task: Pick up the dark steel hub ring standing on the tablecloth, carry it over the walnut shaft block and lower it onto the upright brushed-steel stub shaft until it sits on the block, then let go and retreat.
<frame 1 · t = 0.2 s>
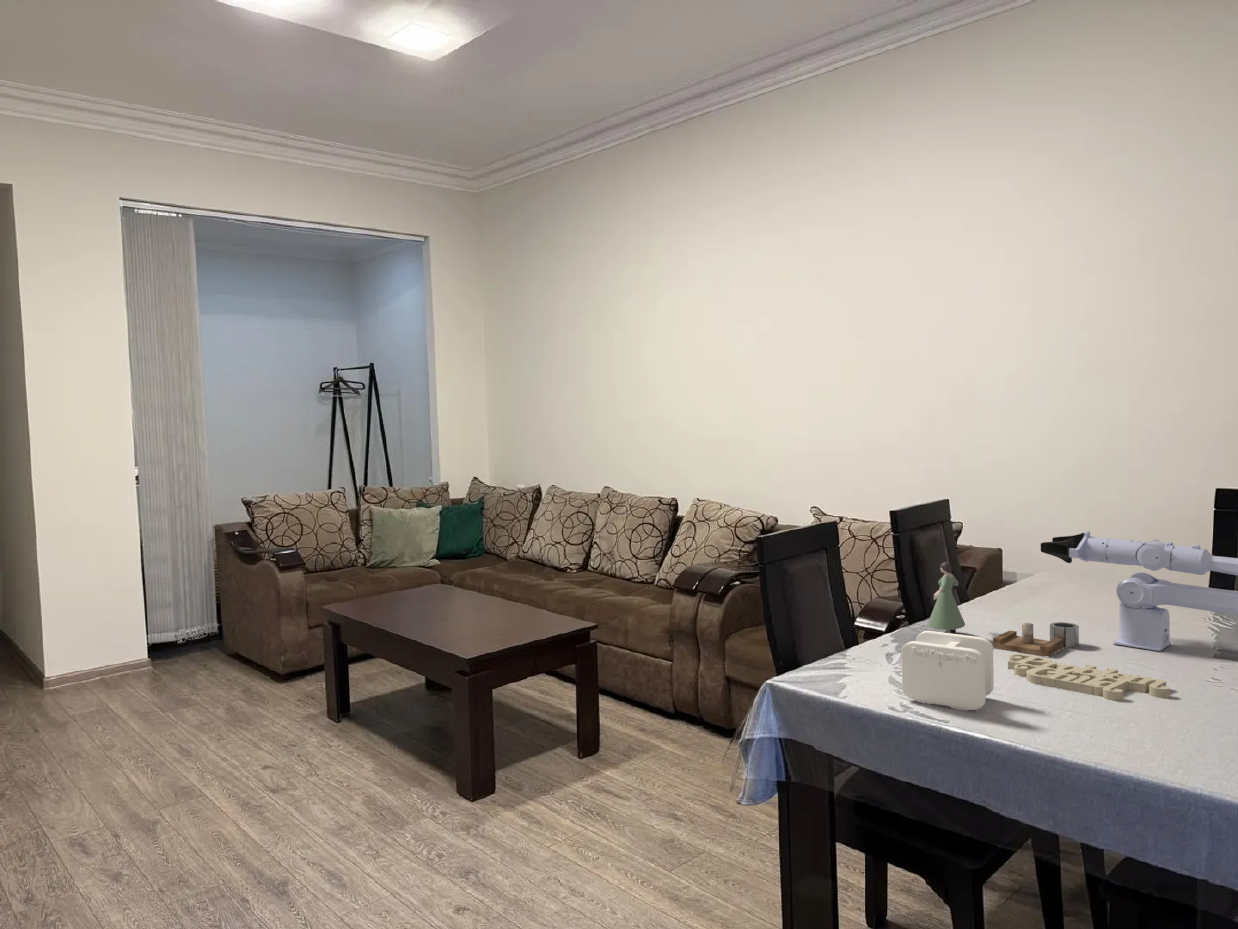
hand: (1047, 544, 209), 21 cm above the table, tool horizontal, fingers open, 7 cm apart
cable organizer: (949, 701, 165), on the table
decorative sign: (1079, 685, 172), on the table
shaft block: (1028, 648, 197), on the table
hub: (1064, 644, 198), on the table
character figurine: (948, 635, 210), on the table
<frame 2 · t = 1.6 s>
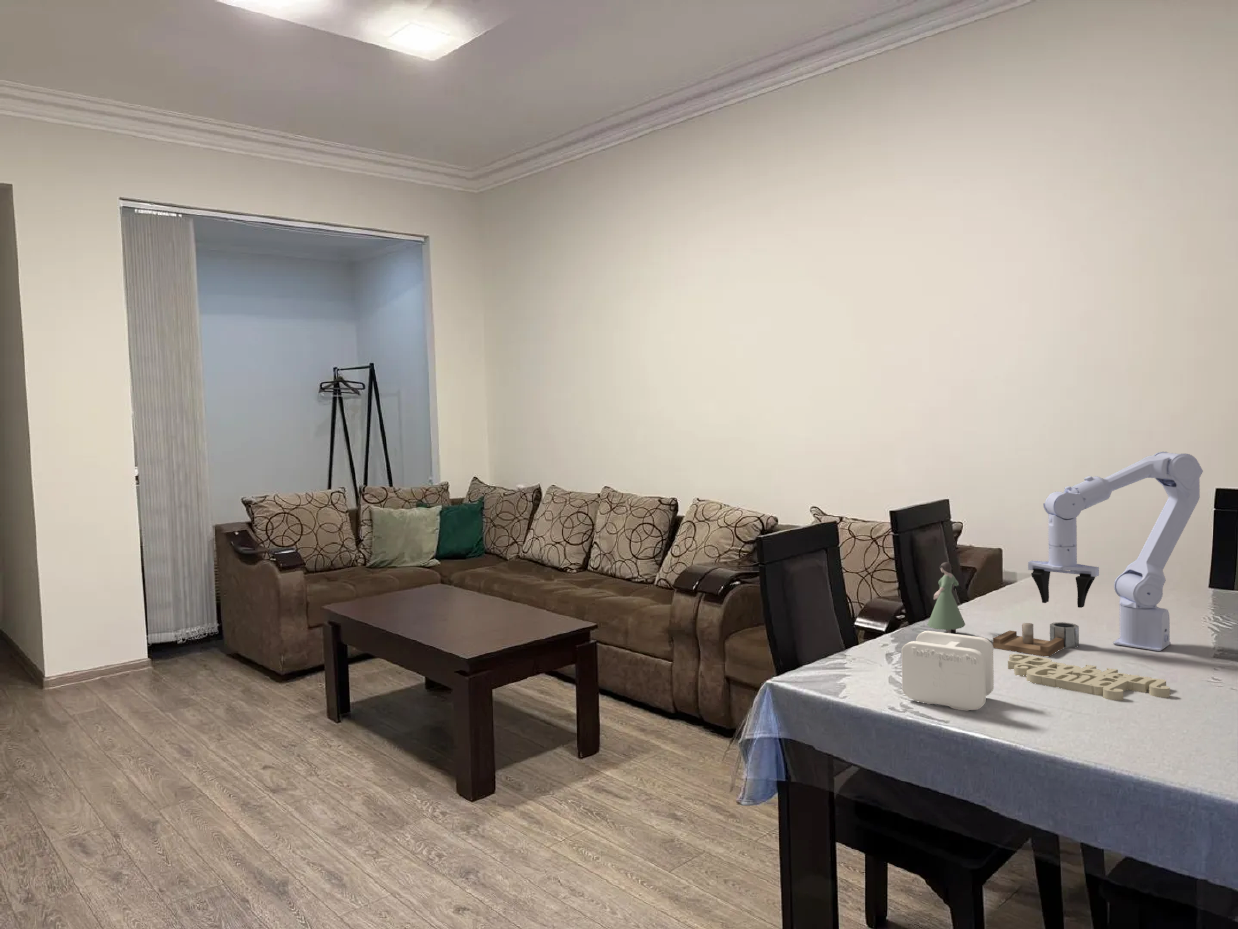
hand: (1062, 604, 197), 9 cm above the table, tool pointing down, fingers open, 7 cm apart
nothing on the table moved.
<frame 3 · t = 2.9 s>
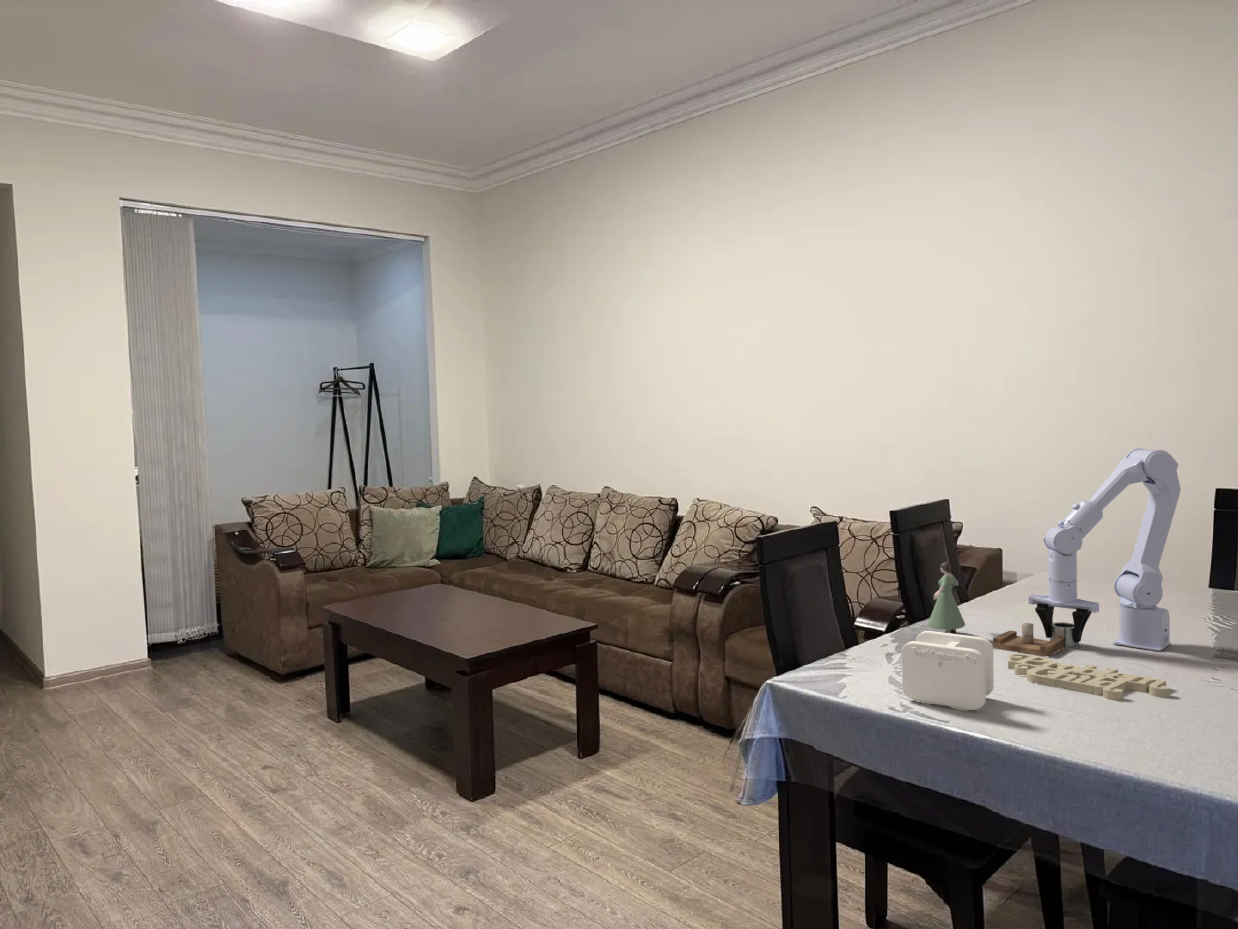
hand: (1063, 639, 198), 1 cm above the table, tool pointing down, fingers closed on hub, 5 cm apart
hub: (1064, 644, 198), on the table, touching gripper
everything else where it was.
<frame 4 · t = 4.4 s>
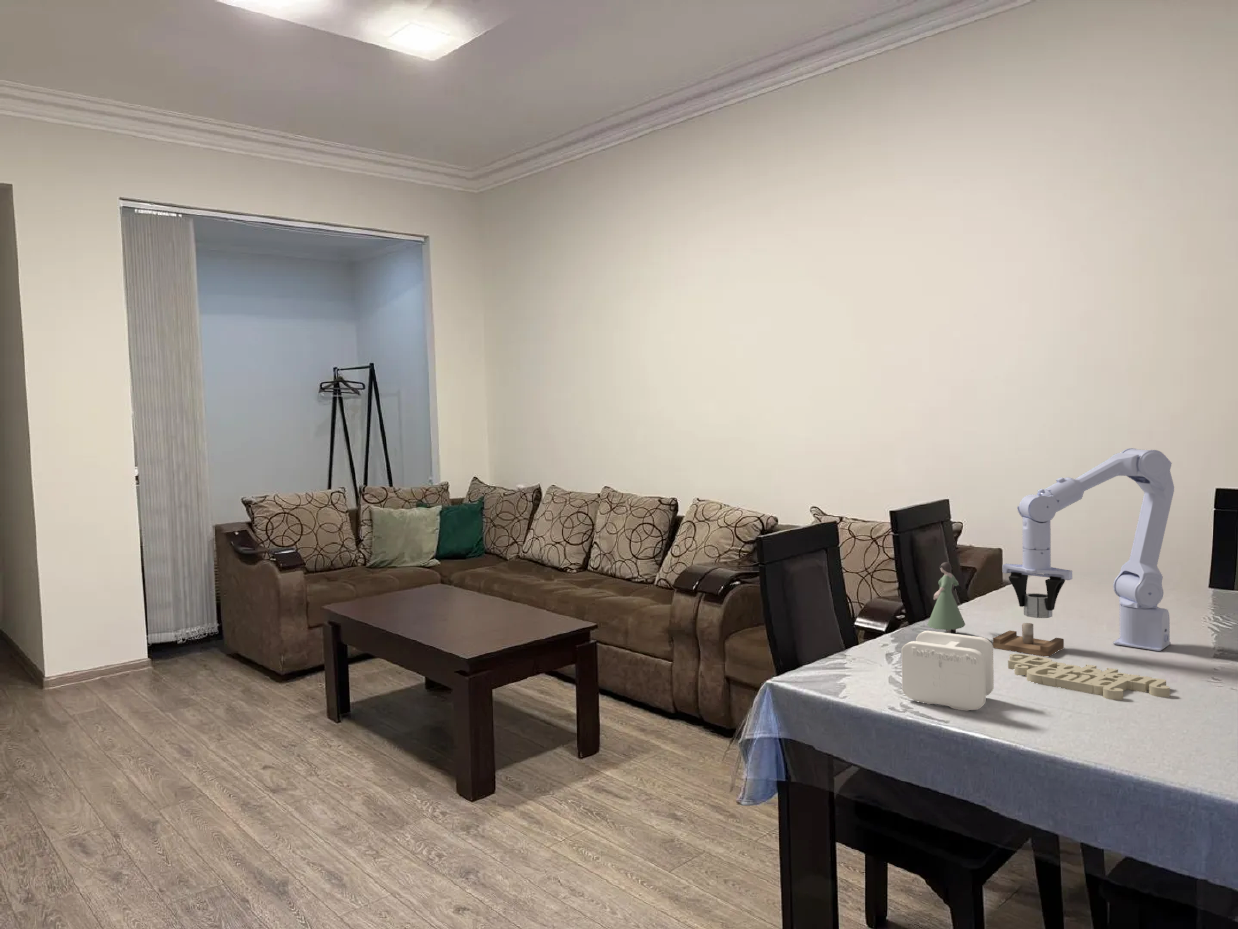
hand: (1036, 607, 196), 9 cm above the table, tool pointing down, fingers closed on hub, 5 cm apart
hub: (1038, 615, 197), point 7 cm above the table, touching gripper
everything else where it was.
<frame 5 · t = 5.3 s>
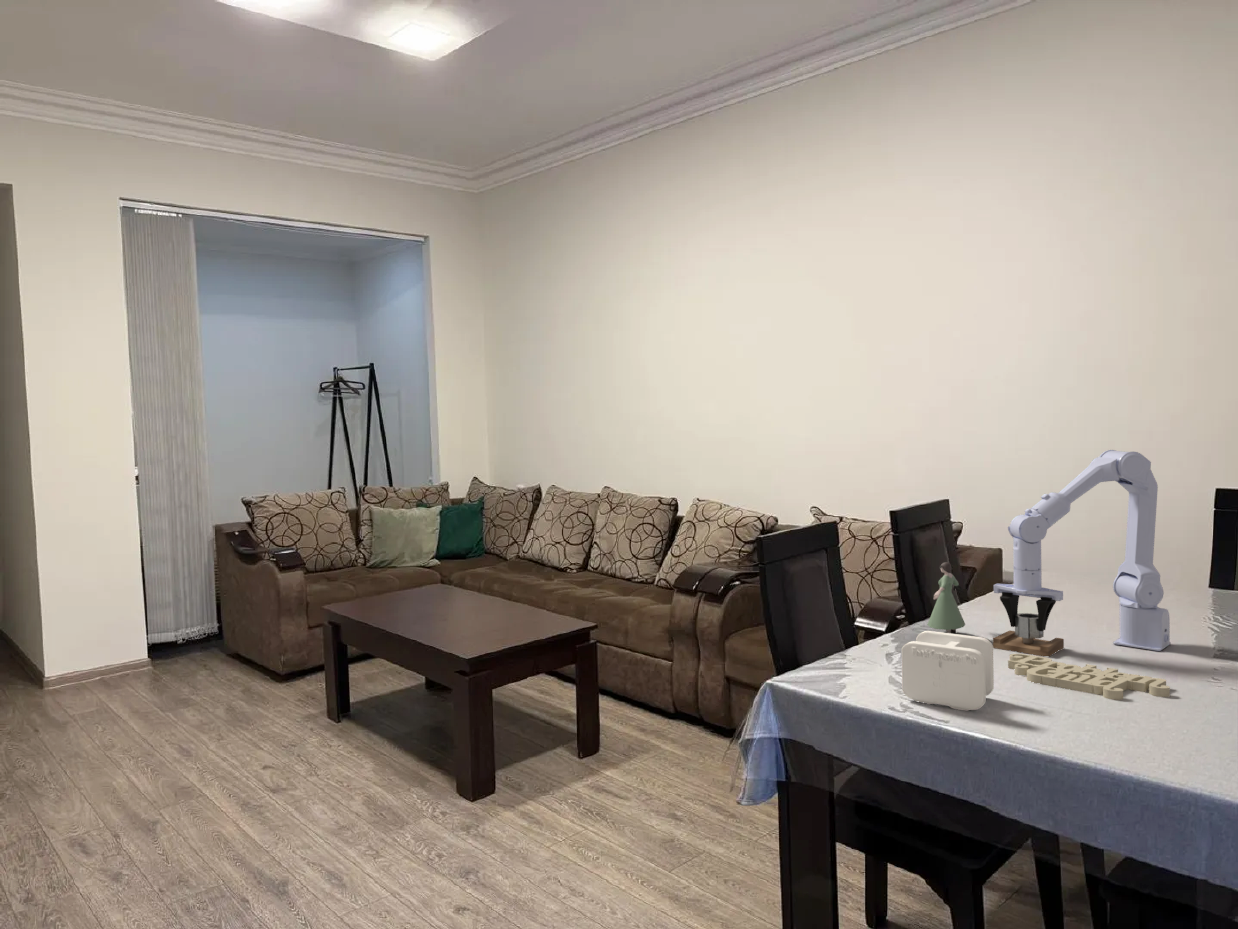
hand: (1027, 628, 196), 5 cm above the table, tool pointing down, fingers closed on hub, 5 cm apart
hub: (1029, 635, 197), point 3 cm above the table, touching gripper
everything else where it was.
when the fingers open (4 cm above the table, at t = 6.0 s): hub stays where it is, resting on shaft block.
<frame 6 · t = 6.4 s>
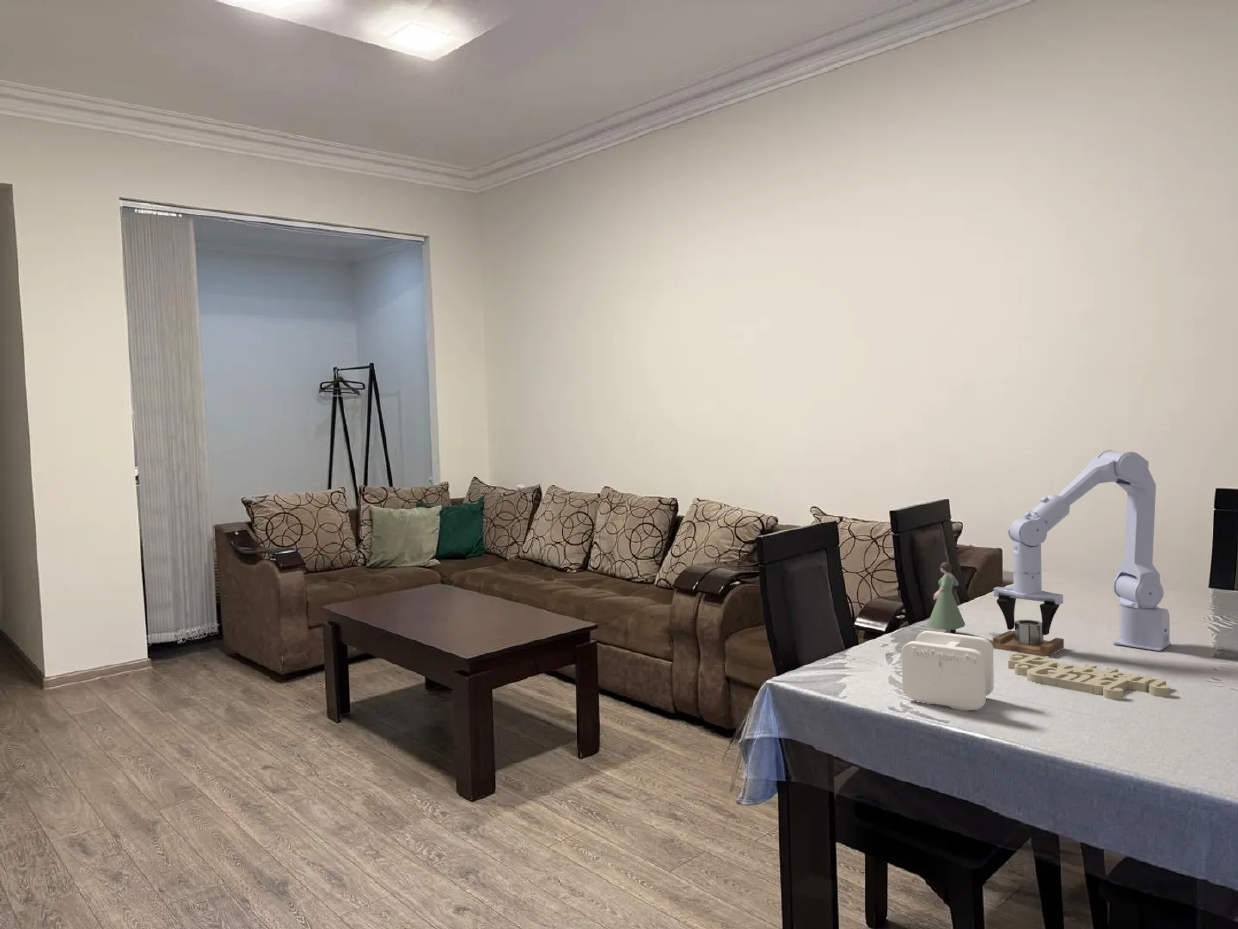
hand: (1028, 631, 196), 4 cm above the table, tool pointing down, fingers open, 7 cm apart
hub: (1029, 642, 197), point 1 cm above the table, touching shaft block
everything else where it was.
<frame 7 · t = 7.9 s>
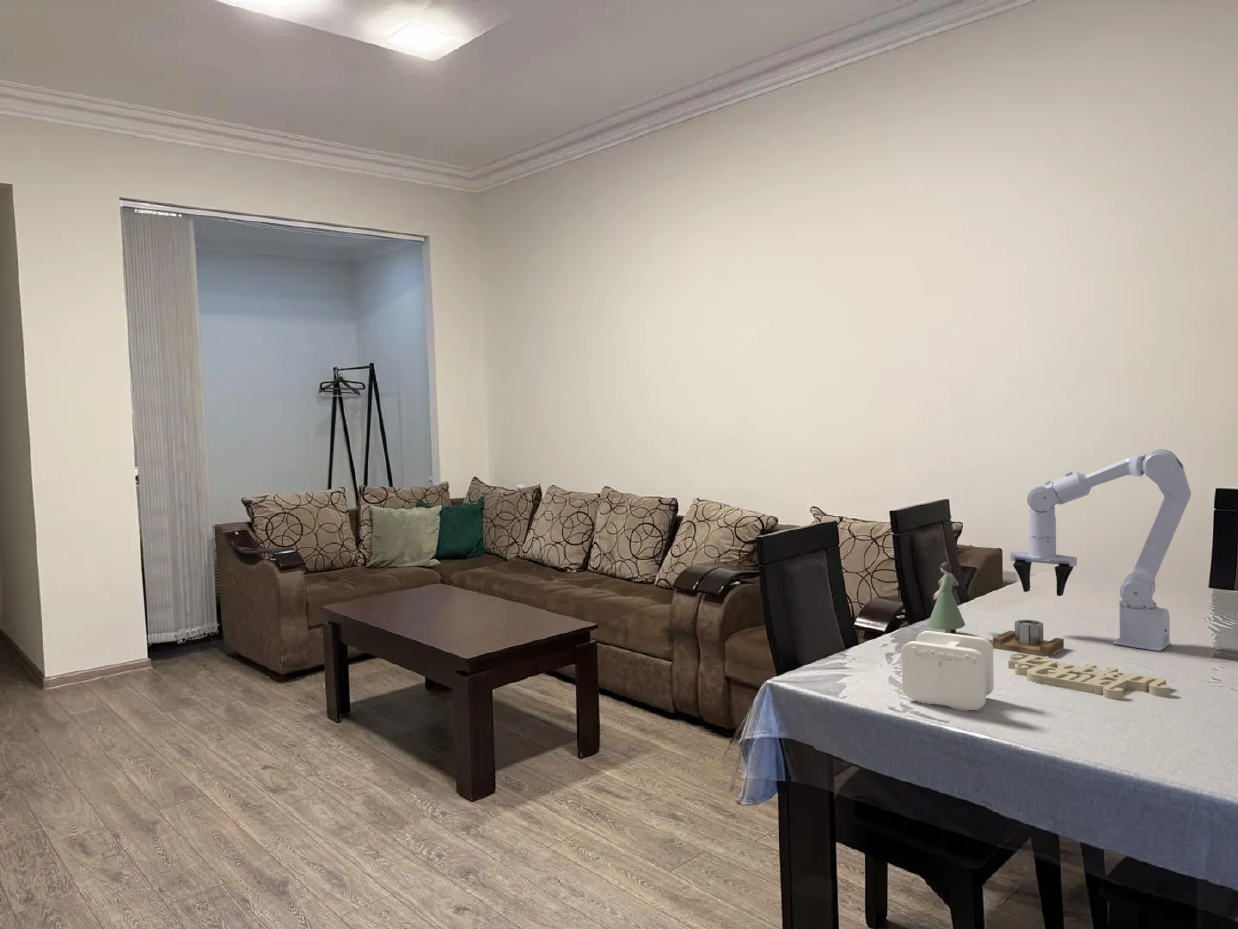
hand: (1043, 593, 207), 10 cm above the table, tool pointing down, fingers open, 7 cm apart
nothing on the table moved.
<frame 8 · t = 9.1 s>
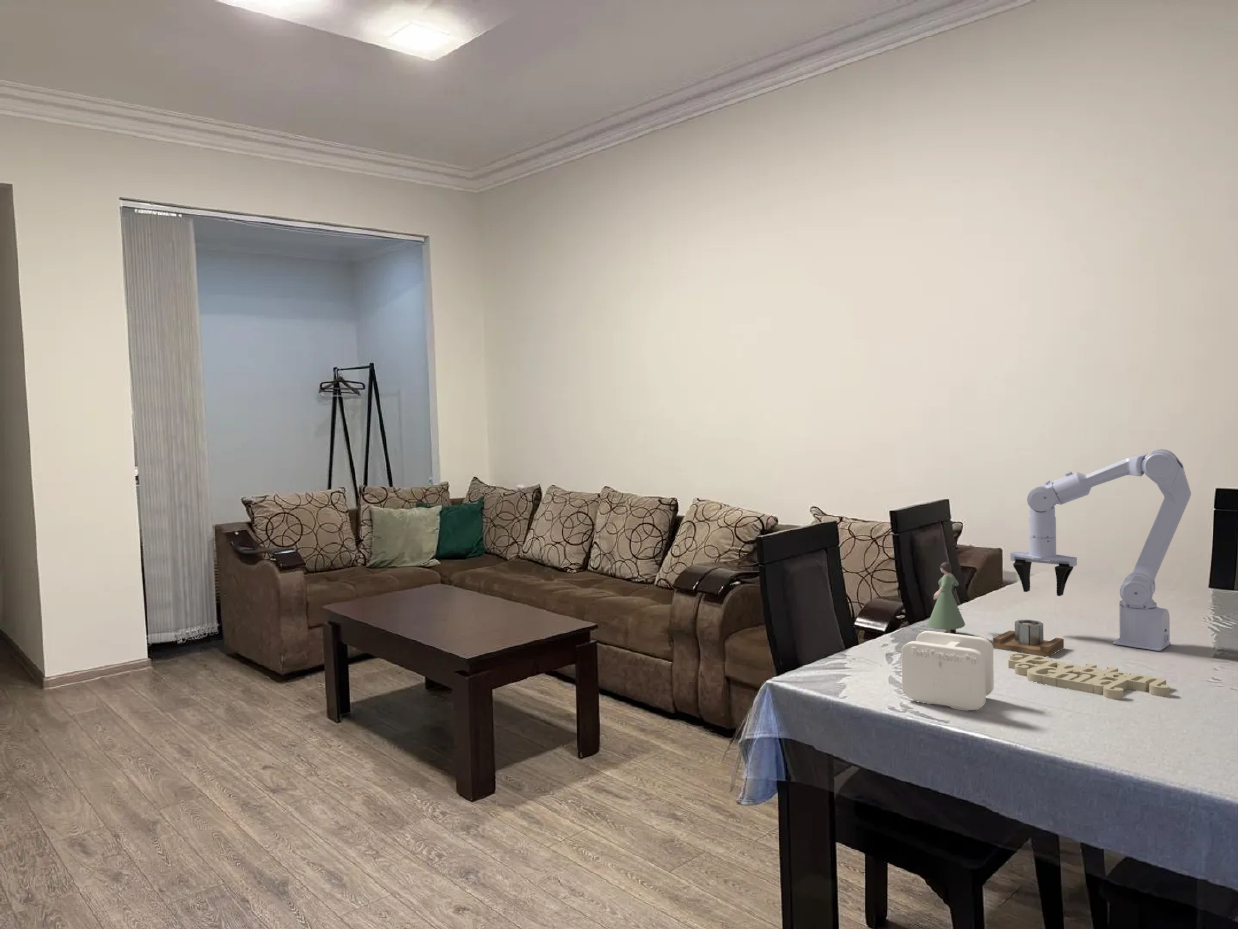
hand: (1043, 593, 207), 10 cm above the table, tool pointing down, fingers open, 7 cm apart
nothing on the table moved.
at the end: hub 0.6 cm off-centre on the shaft block, point 1.2 cm above the shaft block's base; hub tilted 0°; the gripper is holding nothing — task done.
